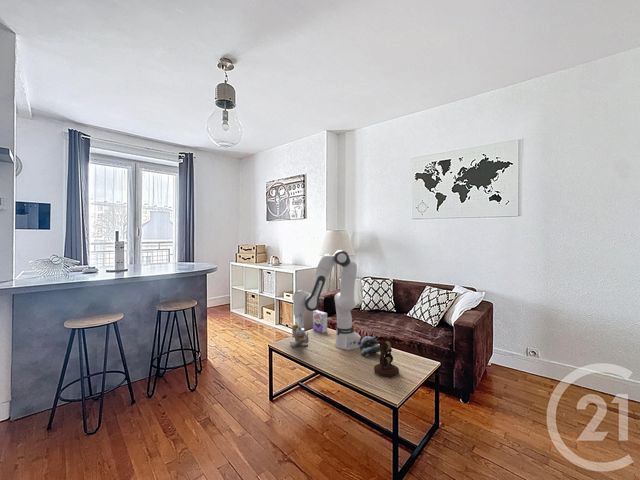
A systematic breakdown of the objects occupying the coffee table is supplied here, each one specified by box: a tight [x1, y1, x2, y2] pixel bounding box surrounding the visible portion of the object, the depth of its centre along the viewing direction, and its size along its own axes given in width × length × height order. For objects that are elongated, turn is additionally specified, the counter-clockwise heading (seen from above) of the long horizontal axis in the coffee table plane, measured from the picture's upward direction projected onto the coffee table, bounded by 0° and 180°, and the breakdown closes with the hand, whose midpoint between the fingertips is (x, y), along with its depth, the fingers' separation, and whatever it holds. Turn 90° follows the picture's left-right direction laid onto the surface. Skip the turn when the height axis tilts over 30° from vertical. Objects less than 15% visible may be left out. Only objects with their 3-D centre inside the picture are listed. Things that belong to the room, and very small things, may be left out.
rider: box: [296, 328, 305, 336], centre depth 218 cm, size 5×5×5 cm
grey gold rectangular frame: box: [289, 323, 310, 349], centre depth 221 cm, size 12×25×14 cm, turn 13°
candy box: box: [312, 309, 328, 334], centre depth 258 cm, size 14×6×16 cm, turn 37°
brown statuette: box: [373, 337, 400, 379], centre depth 179 cm, size 15×15×20 cm
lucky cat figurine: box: [357, 334, 381, 358], centre depth 208 cm, size 15×12×14 cm
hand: (299, 330), depth 223 cm, fingers closed
